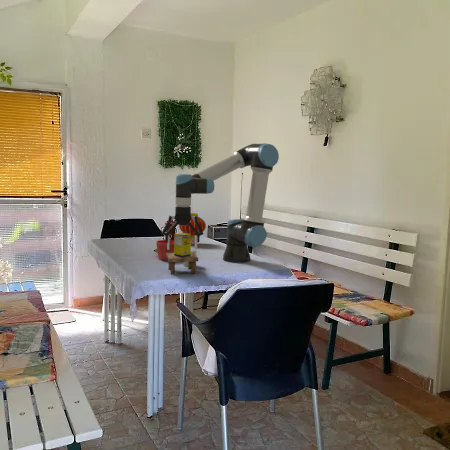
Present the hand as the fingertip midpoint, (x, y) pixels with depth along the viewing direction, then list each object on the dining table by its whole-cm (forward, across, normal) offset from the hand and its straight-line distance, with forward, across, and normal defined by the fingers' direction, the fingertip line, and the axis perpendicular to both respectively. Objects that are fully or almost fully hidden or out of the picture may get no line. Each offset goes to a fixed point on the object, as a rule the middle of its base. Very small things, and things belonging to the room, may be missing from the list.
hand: (182, 249), depth 238 cm
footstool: (+11, 0, 0) cm, 11 cm away
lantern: (+11, -16, -73) cm, 76 cm away
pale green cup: (+11, -6, -12) cm, 18 cm away
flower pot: (+11, +5, -30) cm, 33 cm away
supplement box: (+3, 0, 0) cm, 3 cm away
